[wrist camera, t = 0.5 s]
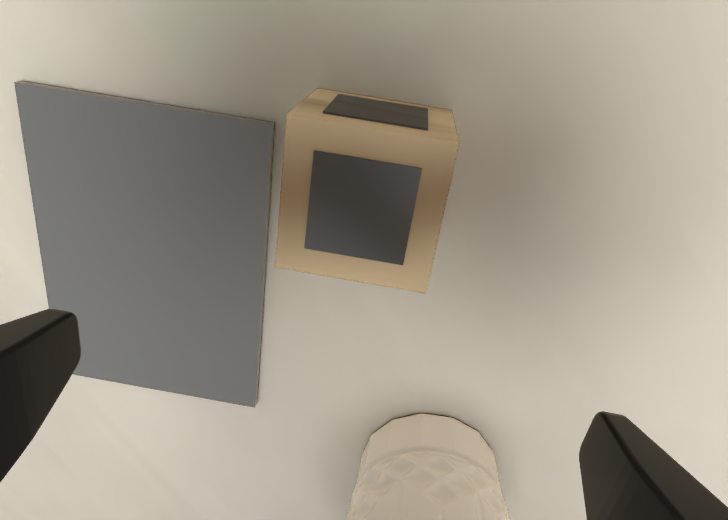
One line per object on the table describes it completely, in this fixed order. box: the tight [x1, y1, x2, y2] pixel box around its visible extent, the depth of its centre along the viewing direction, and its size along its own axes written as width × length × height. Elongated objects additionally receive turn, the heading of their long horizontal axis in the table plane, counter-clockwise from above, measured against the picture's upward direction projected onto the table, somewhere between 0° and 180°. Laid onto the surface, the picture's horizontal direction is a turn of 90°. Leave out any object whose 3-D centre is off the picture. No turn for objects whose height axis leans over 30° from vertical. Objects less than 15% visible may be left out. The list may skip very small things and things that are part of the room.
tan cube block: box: [275, 88, 459, 293], centre depth 19 cm, size 5×5×5 cm
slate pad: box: [14, 81, 275, 407], centre depth 24 cm, size 14×10×1 cm
